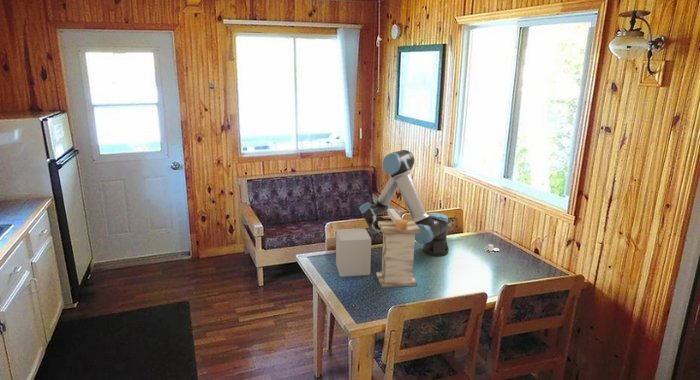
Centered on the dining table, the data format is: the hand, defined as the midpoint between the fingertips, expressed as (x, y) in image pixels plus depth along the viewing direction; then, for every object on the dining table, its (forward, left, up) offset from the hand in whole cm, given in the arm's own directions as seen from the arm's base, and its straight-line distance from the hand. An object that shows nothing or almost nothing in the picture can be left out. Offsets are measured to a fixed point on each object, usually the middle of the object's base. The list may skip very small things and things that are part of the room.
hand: (387, 217), depth 245 cm
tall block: (+20, +7, -26) cm, 34 cm away
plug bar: (0, +18, +4) cm, 18 cm away
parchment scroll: (0, +23, -26) cm, 35 cm away
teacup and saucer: (-67, -4, -27) cm, 72 cm away
